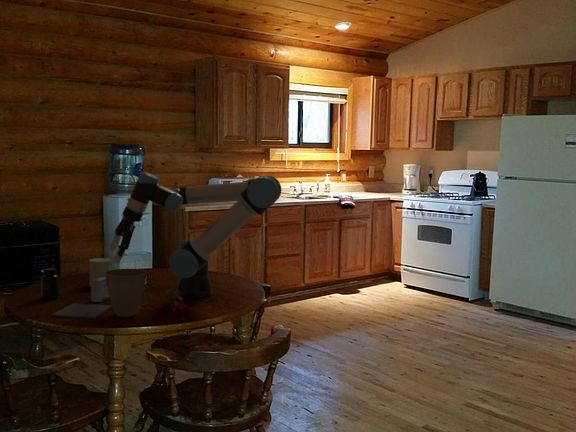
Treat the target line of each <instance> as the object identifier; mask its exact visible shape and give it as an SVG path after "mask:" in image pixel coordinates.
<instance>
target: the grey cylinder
mask: <svg viewBox="0 0 576 432" xmlns="http://www.w3.org/2000/svg"><path fill="white" fill-rule="evenodd" d="M88 266H89V267H88V268H89V287H90V288H91V281H93V280H95V279H98V278H100V277H105V272H106V271H109V270H111V258H109V257H108V258H107V257H96V258H95V257H94V258H91V259H89V260H88Z"/></svg>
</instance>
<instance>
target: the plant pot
mask: <svg viewBox="0 0 576 432" xmlns="http://www.w3.org/2000/svg"><path fill="white" fill-rule="evenodd" d="M147 273H148V271H147V270H145V269H140V268H115V269H110V270H109V271H106V272H105V277H106V283H107V289H108V293H109V297H110V298H109V300H110V303H111V305H112V306H113V307H112V310H113V311H114V314H115V315H116V316H117V317H121V318H128V317H133V316H136V315H137V313H138V311H139V308H140V305H141V302H142V299H143V295H144V291H145V287H146V280H147Z"/></svg>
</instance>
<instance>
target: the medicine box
mask: <svg viewBox="0 0 576 432" xmlns="http://www.w3.org/2000/svg"><path fill="white" fill-rule="evenodd" d="M90 295H91V298H90V299H91V302H92V303H94V302H95V303H103V302H105V301H107V300H110V297H109V293H108V289H107V283H106V277H100V278H98V279H95V280H93V281H91V287H90Z"/></svg>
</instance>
